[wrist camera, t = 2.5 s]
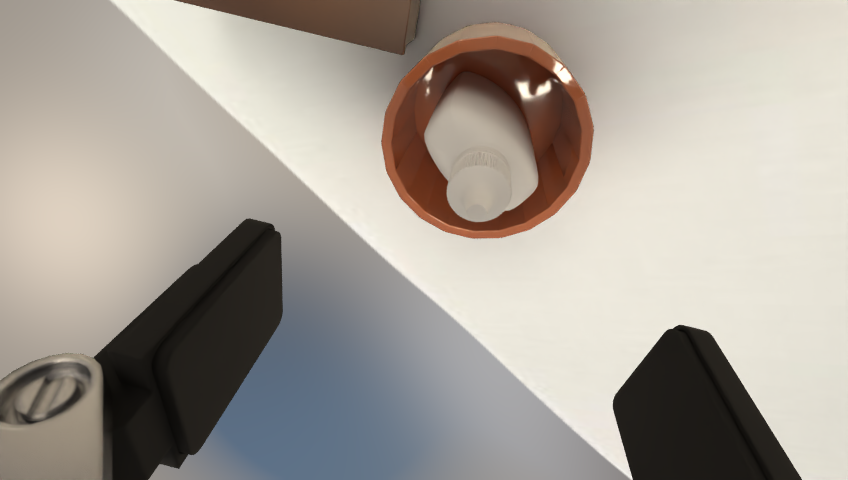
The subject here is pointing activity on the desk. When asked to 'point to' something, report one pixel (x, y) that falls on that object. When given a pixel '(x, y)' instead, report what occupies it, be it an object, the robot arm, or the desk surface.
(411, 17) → the walnut box
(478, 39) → the pencil cup
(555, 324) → the desk surface
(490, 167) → the eye dropper bottle
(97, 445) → the robot arm
